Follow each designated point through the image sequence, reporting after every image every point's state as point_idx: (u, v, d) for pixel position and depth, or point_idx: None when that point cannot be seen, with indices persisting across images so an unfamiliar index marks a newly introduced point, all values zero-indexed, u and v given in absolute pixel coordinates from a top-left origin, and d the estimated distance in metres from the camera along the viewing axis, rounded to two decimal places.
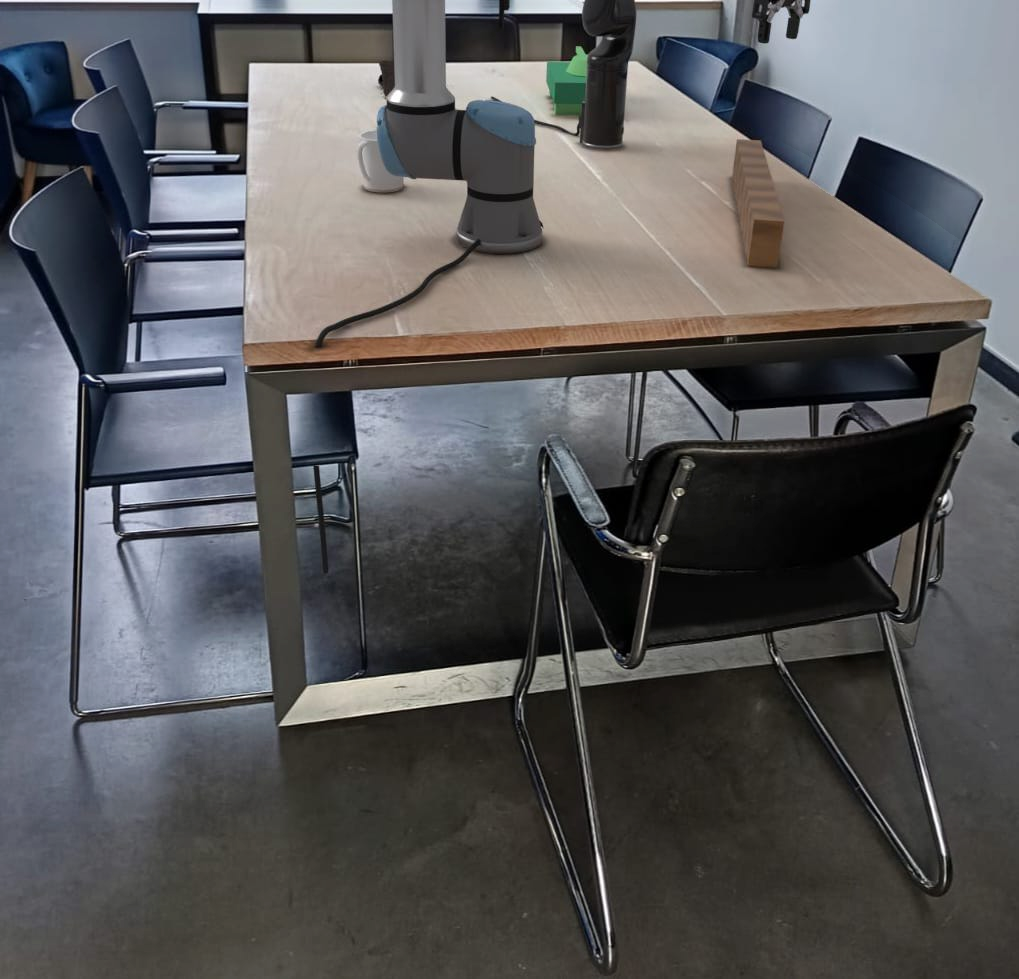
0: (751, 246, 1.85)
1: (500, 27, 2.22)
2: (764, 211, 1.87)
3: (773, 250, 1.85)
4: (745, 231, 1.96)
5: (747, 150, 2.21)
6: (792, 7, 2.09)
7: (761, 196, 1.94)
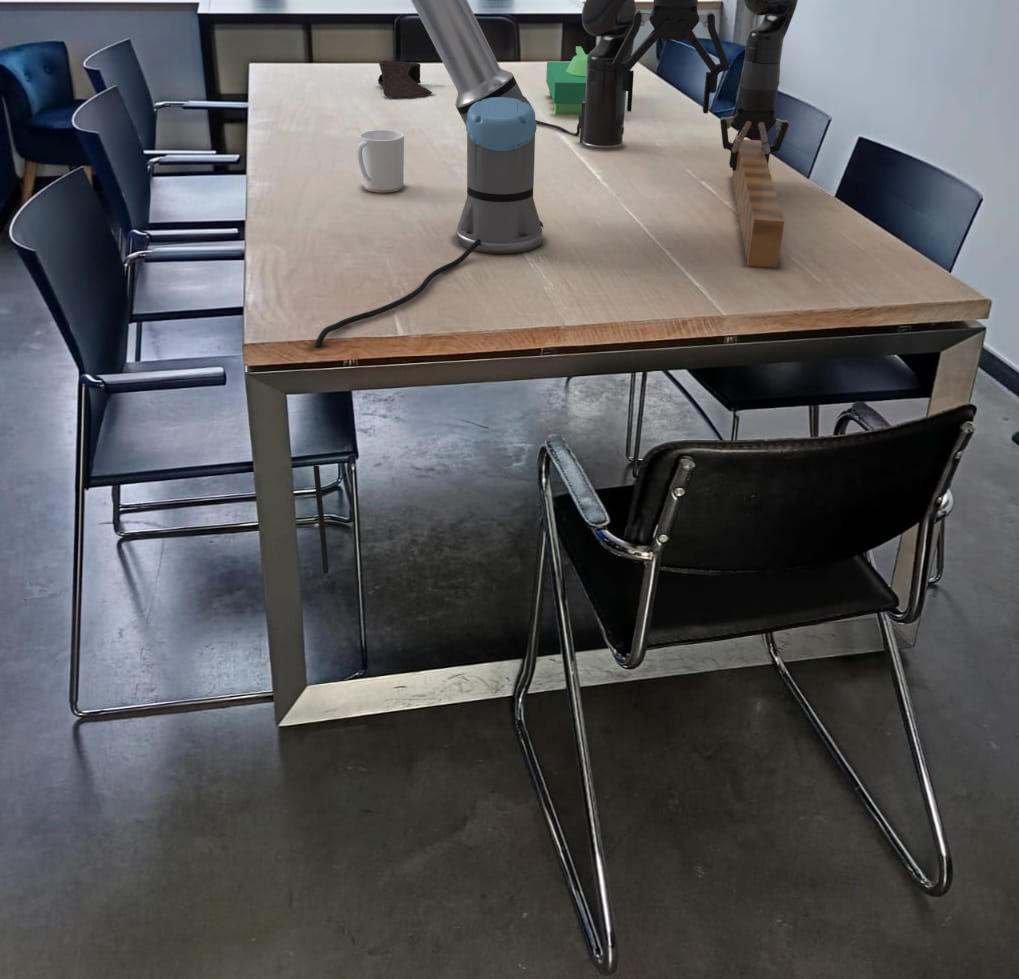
0: (751, 246, 1.85)
1: (705, 112, 1.95)
2: (764, 211, 1.87)
3: (773, 250, 1.85)
4: (745, 231, 1.96)
5: (747, 150, 2.21)
6: None
7: (761, 196, 1.94)
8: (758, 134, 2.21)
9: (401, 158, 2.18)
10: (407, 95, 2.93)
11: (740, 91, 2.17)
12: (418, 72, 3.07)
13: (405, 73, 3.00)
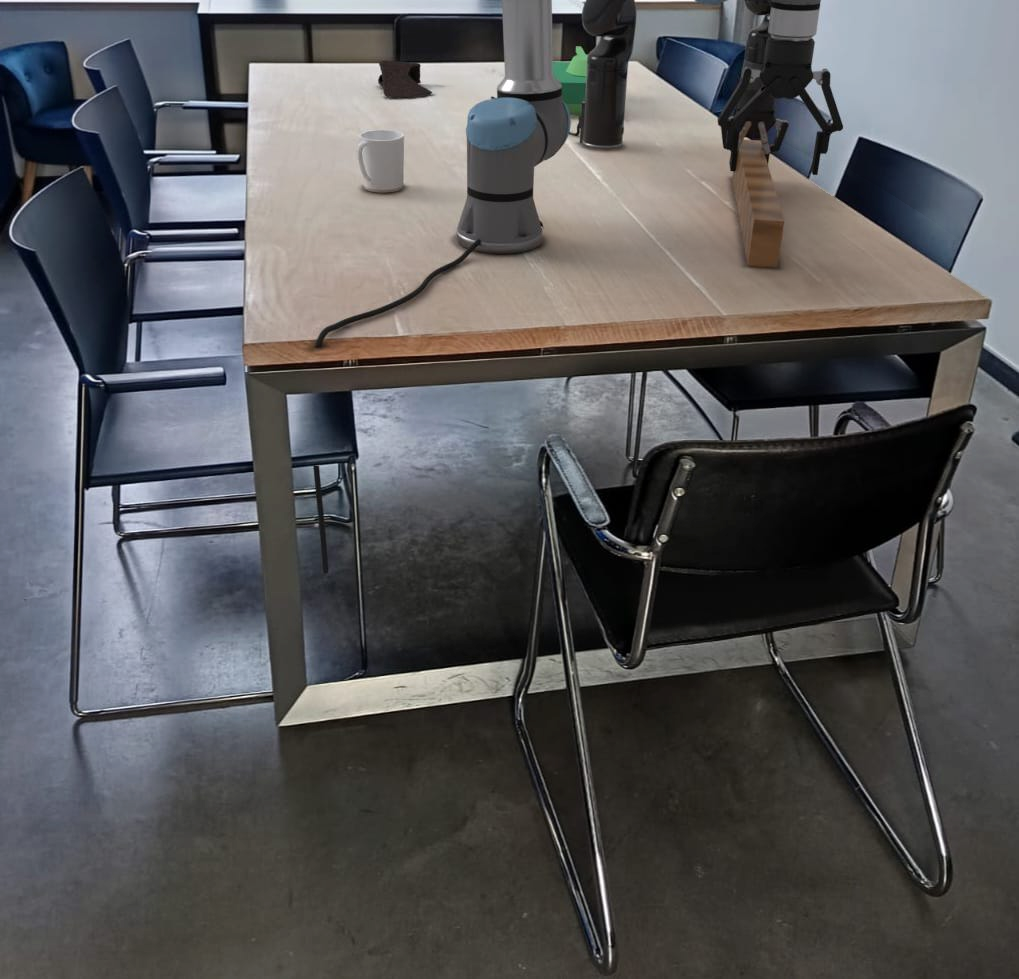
0: (751, 246, 1.85)
1: (815, 173, 1.83)
2: (764, 211, 1.87)
3: (773, 250, 1.85)
4: (745, 231, 1.96)
5: (747, 150, 2.21)
6: (761, 140, 2.22)
7: (761, 196, 1.94)
8: (758, 134, 2.21)
9: (401, 158, 2.18)
10: (407, 95, 2.93)
11: None
12: (418, 72, 3.07)
13: (405, 73, 3.00)
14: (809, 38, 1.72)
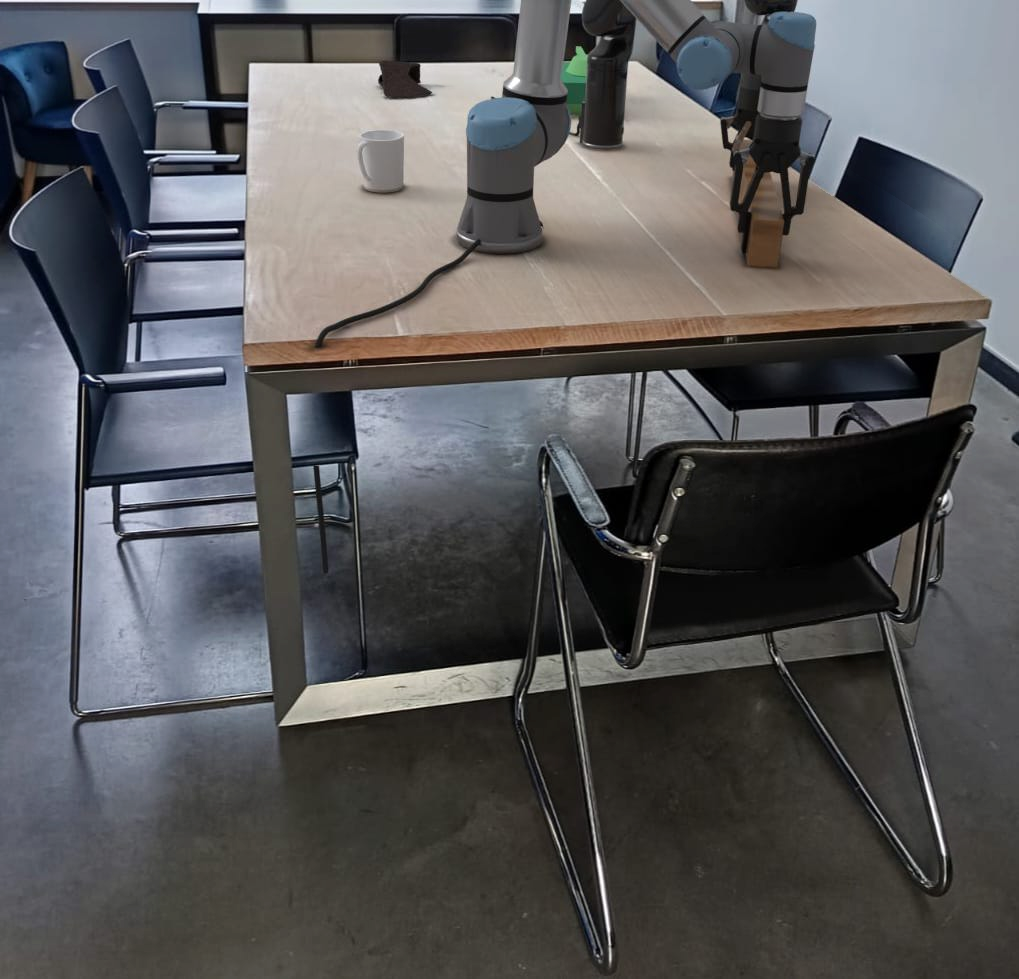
0: (751, 246, 1.85)
1: None
2: (764, 211, 1.87)
3: (773, 250, 1.85)
4: None
5: None
6: None
7: (761, 196, 1.94)
8: None
9: (401, 158, 2.18)
10: (407, 95, 2.93)
11: (740, 91, 2.17)
12: (418, 72, 3.07)
13: (405, 73, 3.00)
14: (797, 117, 1.78)
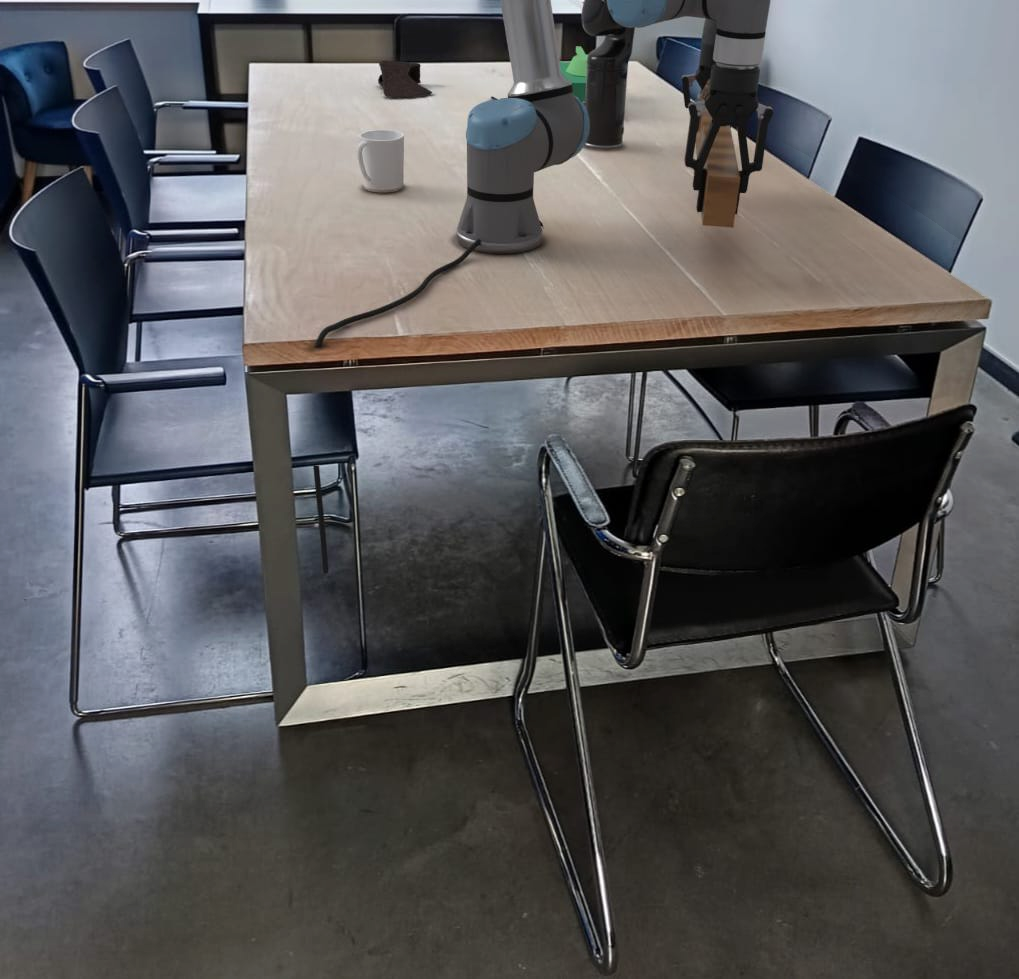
0: (706, 204, 1.76)
1: None
2: (720, 168, 1.77)
3: (729, 209, 1.76)
4: None
5: None
6: None
7: (719, 153, 1.85)
8: None
9: (401, 158, 2.18)
10: (407, 95, 2.93)
11: (702, 47, 2.08)
12: (418, 72, 3.07)
13: (405, 73, 3.00)
14: (754, 66, 1.69)
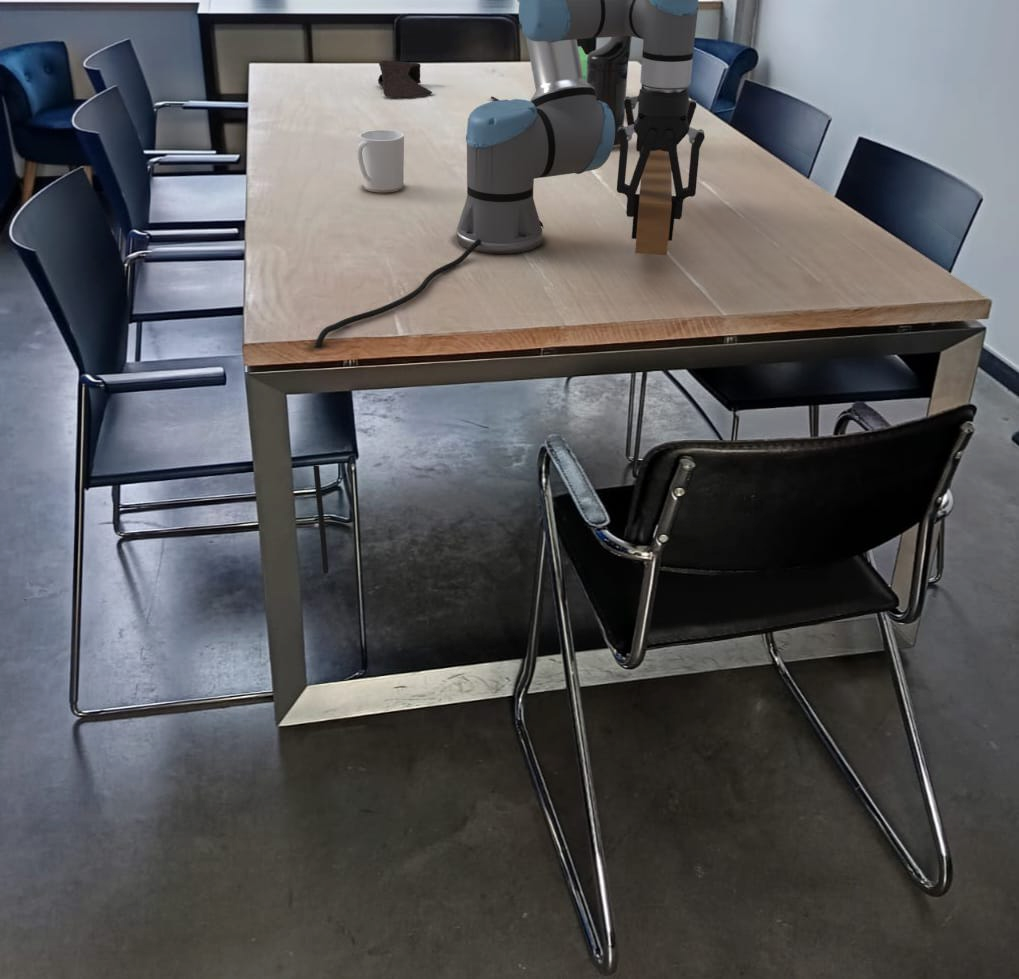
0: (638, 232, 1.70)
1: (669, 239, 1.76)
2: (653, 194, 1.72)
3: (662, 236, 1.70)
4: None
5: None
6: None
7: (654, 178, 1.79)
8: None
9: (401, 158, 2.18)
10: (407, 95, 2.93)
11: None
12: (418, 72, 3.07)
13: (405, 73, 3.00)
14: (682, 89, 1.63)
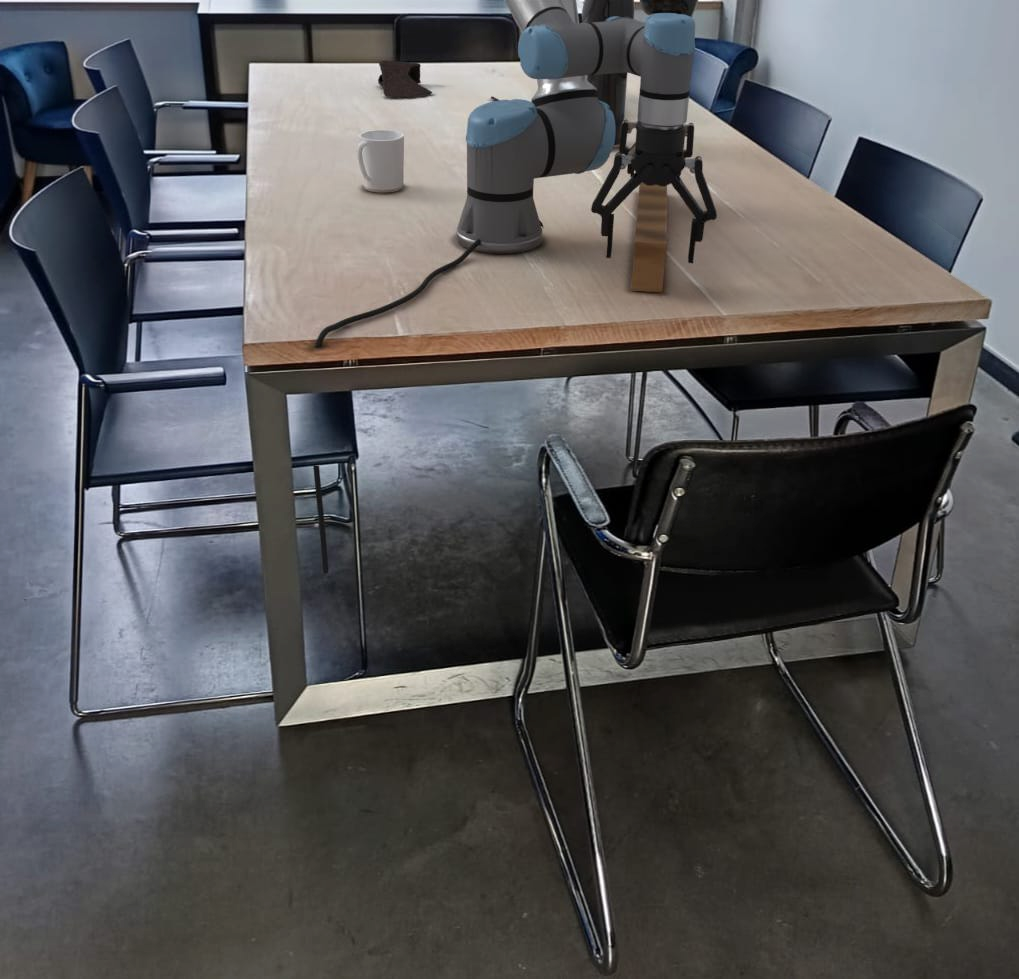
0: (633, 270, 1.74)
1: (690, 261, 1.77)
2: (648, 233, 1.75)
3: (657, 274, 1.74)
4: None
5: None
6: None
7: (650, 216, 1.83)
8: None
9: (401, 158, 2.18)
10: (407, 95, 2.93)
11: None
12: (418, 72, 3.07)
13: (405, 73, 3.00)
14: (679, 126, 1.66)
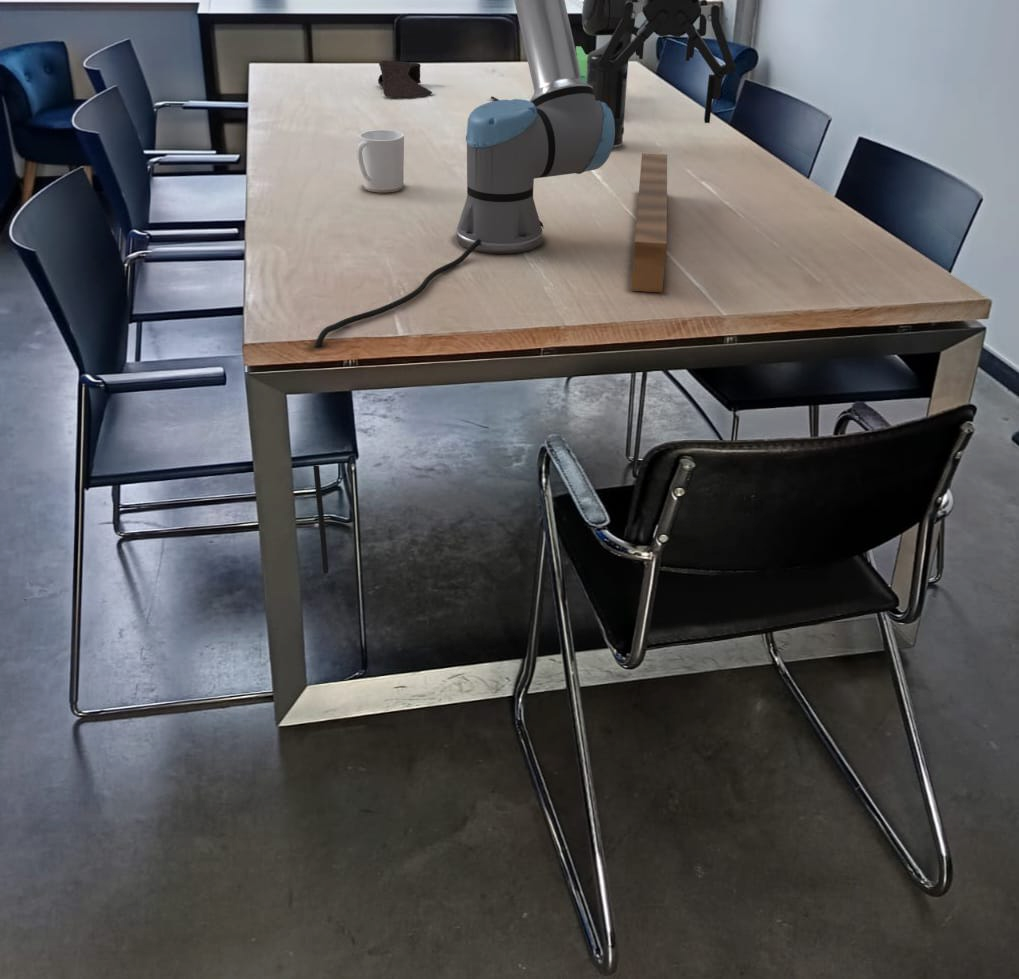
0: (633, 270, 1.74)
1: (707, 121, 1.66)
2: (648, 233, 1.75)
3: (657, 274, 1.74)
4: None
5: (649, 165, 2.10)
6: None
7: (650, 216, 1.83)
8: None
9: (401, 158, 2.18)
10: (407, 95, 2.93)
11: None
12: (418, 72, 3.07)
13: (405, 73, 3.00)
14: None
